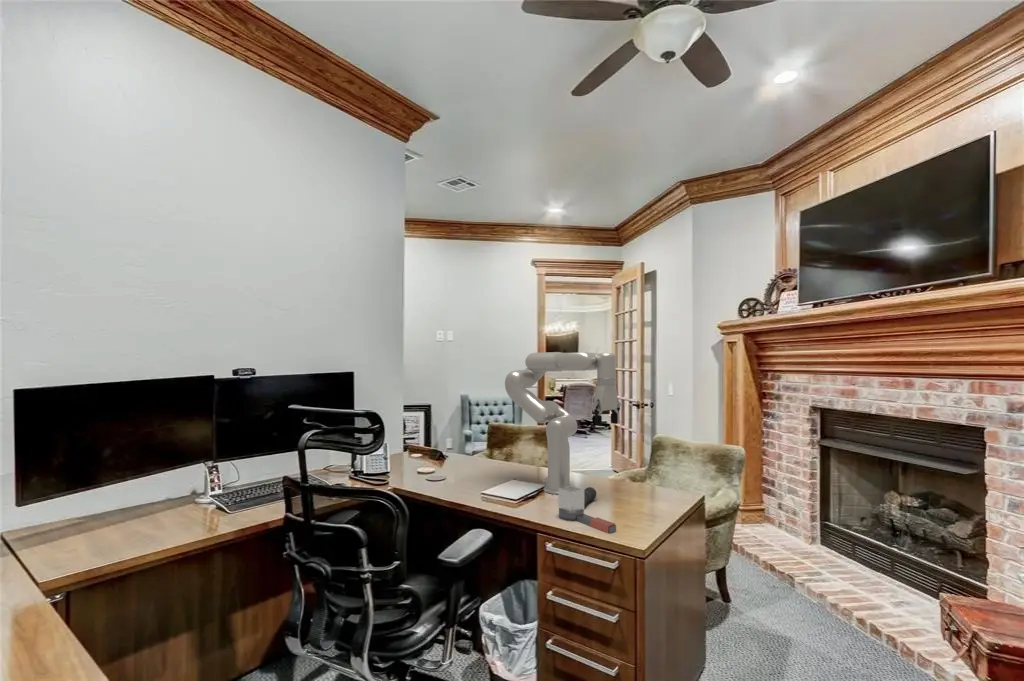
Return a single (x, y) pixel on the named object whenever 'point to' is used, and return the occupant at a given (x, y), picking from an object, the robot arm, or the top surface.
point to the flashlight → (589, 495)
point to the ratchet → (588, 520)
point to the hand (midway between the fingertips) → (606, 424)
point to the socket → (571, 499)
